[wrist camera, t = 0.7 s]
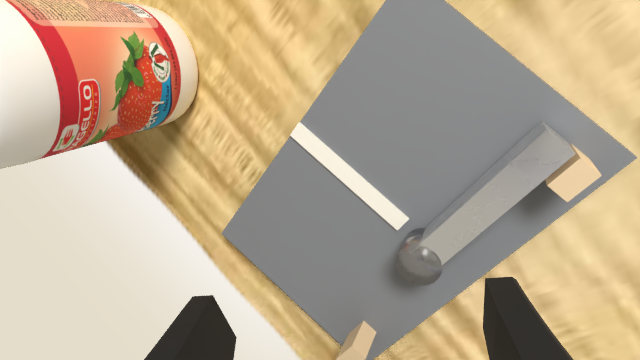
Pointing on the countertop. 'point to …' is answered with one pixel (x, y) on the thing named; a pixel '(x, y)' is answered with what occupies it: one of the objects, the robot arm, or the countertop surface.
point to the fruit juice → (87, 74)
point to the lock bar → (482, 204)
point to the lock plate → (407, 173)
